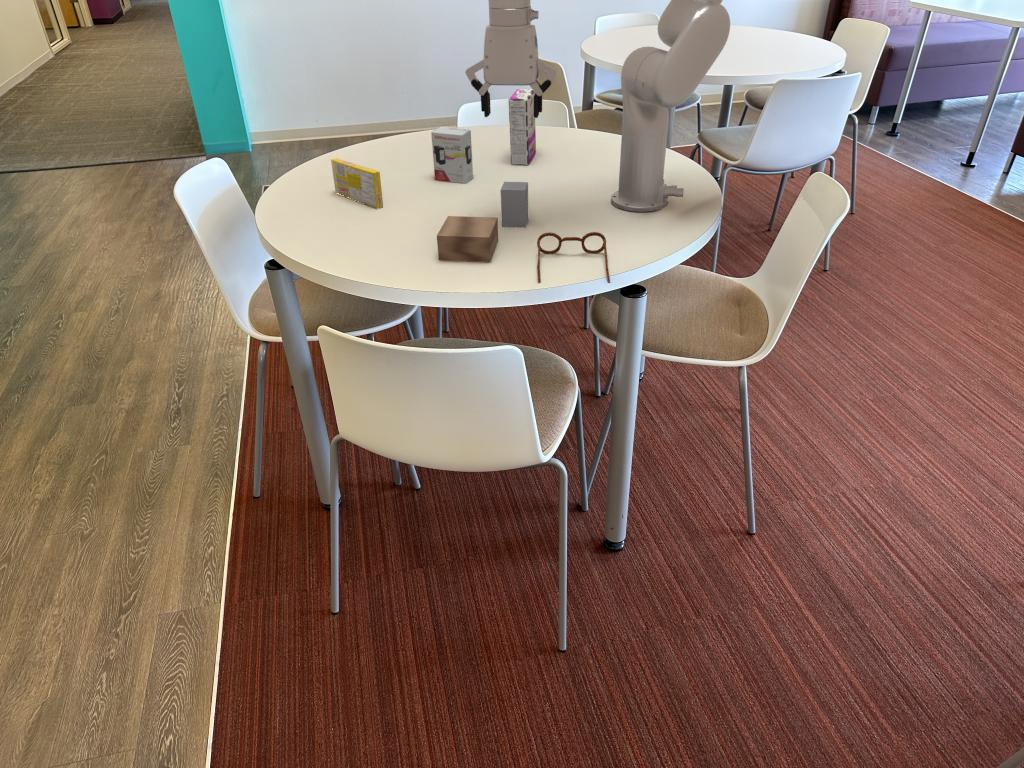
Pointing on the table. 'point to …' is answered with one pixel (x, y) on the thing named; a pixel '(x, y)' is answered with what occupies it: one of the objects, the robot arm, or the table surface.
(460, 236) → the block
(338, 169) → the candy box
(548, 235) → the glasses
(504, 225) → the grey block
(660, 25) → the robot arm
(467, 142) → the ink box
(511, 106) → the candy bar box
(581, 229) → the table surface
